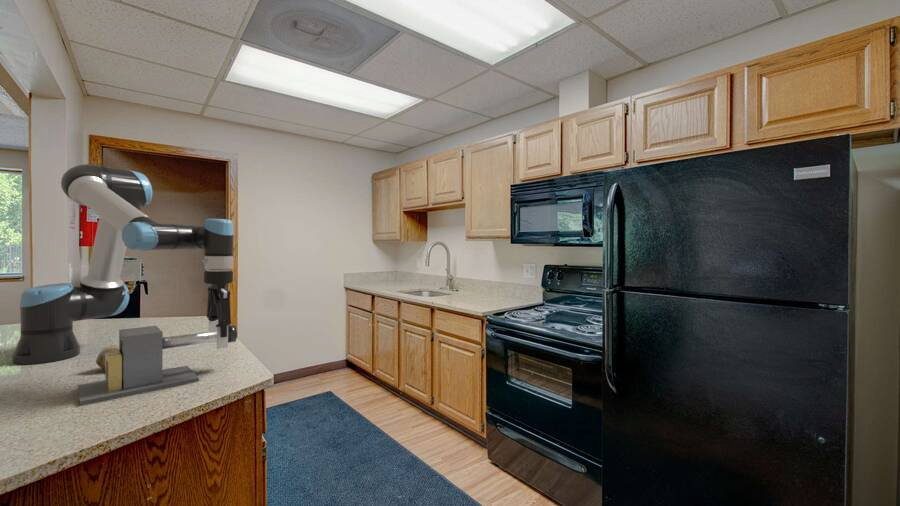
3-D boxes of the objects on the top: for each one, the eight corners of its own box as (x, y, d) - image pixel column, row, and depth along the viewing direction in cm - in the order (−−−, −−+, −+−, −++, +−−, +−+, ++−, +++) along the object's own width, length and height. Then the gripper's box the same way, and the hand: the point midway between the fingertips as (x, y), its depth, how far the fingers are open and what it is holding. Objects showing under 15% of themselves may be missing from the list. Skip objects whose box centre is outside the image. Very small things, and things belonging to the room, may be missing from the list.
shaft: (133, 354, 105) (134, 335, 105) (231, 340, 122) (231, 323, 122) (136, 358, 101) (136, 339, 101) (236, 343, 118) (236, 326, 118)
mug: (123, 376, 111) (103, 347, 110) (106, 385, 114) (86, 357, 113) (149, 362, 118) (130, 334, 117) (132, 371, 121) (114, 345, 120)
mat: (77, 388, 100) (77, 384, 100) (187, 368, 117) (187, 365, 117) (80, 405, 90) (80, 401, 90) (198, 381, 108) (199, 377, 108)
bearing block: (119, 383, 105) (119, 329, 104) (155, 376, 110) (155, 325, 110) (123, 394, 98) (123, 336, 97) (162, 386, 103) (162, 332, 103)
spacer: (105, 382, 102) (105, 349, 102) (117, 380, 104) (117, 347, 104) (108, 392, 96) (108, 356, 96) (121, 390, 98) (121, 354, 97)
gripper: (195, 268, 121) (195, 339, 122) (214, 273, 106) (213, 354, 107) (222, 267, 126) (221, 336, 127) (243, 272, 112) (243, 349, 112)
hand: (218, 344), depth 117 cm, fingers open, 8 cm apart
